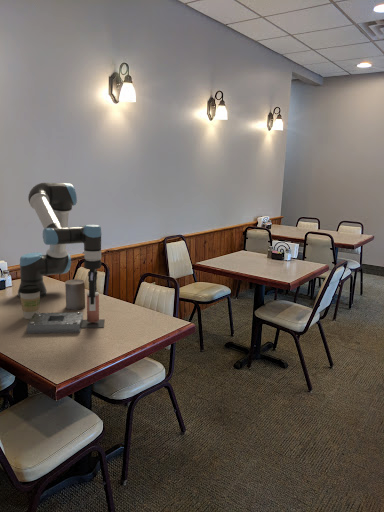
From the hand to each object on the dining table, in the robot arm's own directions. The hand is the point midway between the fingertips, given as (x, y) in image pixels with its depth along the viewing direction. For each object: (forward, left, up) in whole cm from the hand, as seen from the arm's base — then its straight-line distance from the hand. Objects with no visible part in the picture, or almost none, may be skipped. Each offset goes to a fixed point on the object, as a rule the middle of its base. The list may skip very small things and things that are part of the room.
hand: (93, 308), depth 189 cm
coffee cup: (-11, -30, -8) cm, 33 cm away
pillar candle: (-25, -11, -8) cm, 28 cm away
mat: (0, 0, -8) cm, 8 cm away
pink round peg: (0, 0, -6) cm, 6 cm away
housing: (+3, -16, -8) cm, 18 cm away
